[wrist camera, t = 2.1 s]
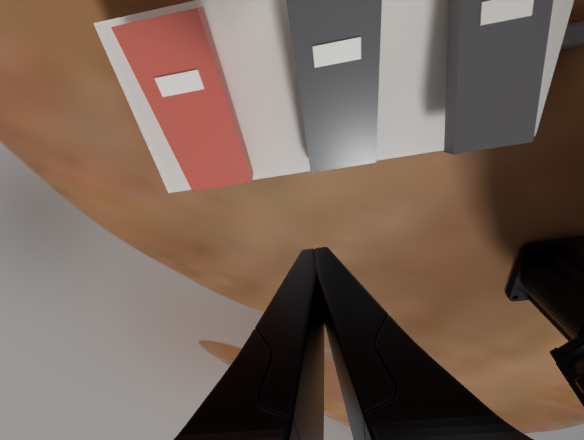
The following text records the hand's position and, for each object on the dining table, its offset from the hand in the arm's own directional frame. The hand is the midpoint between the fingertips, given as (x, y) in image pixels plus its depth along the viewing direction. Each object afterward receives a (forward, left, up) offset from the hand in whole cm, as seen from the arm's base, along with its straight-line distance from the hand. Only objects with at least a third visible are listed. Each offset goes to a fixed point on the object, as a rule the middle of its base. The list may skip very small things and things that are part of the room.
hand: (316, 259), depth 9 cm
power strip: (+4, -5, -12) cm, 14 cm away
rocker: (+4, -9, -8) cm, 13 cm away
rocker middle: (+4, -2, -8) cm, 9 cm away
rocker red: (+4, +5, -8) cm, 10 cm away
